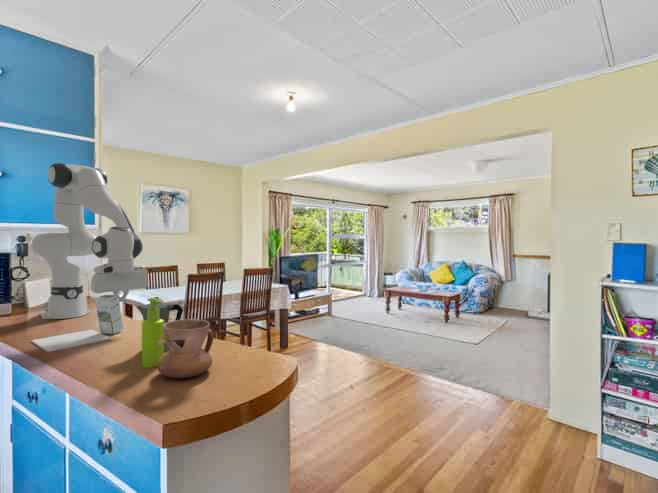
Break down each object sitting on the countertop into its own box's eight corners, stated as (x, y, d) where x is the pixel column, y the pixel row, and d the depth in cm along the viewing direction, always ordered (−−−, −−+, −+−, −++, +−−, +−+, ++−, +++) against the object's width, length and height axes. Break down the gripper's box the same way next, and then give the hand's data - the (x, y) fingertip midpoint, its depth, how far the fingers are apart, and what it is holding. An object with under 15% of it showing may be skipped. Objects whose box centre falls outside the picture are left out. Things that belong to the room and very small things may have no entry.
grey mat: (31, 341, 125) (31, 340, 125) (91, 330, 140) (91, 329, 140) (47, 352, 114) (47, 350, 114) (111, 339, 129) (111, 337, 129)
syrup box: (124, 328, 140) (119, 294, 137) (113, 335, 135) (108, 299, 132) (110, 328, 141) (105, 293, 138) (100, 334, 135) (94, 299, 132)
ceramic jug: (172, 390, 88) (174, 333, 88) (141, 376, 96) (143, 324, 96) (228, 369, 103) (230, 321, 103) (197, 359, 111) (199, 314, 111)
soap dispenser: (151, 370, 101) (151, 301, 100) (137, 365, 104) (138, 298, 104) (169, 364, 106) (170, 298, 105) (156, 359, 109) (156, 295, 109)
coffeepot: (128, 354, 113) (129, 299, 113) (143, 345, 123) (143, 294, 122) (176, 354, 114) (177, 299, 114) (187, 345, 123) (188, 295, 123)
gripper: (143, 265, 150) (143, 297, 150) (88, 268, 133) (89, 304, 133) (150, 266, 146) (150, 299, 146) (95, 269, 129) (96, 306, 130)
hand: (121, 301), depth 140 cm, fingers closed
